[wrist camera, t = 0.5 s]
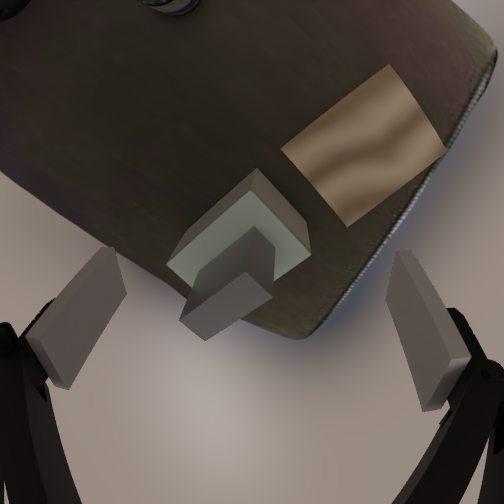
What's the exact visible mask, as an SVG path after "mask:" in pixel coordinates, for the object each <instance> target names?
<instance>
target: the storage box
mask: <svg viewBox="0 0 504 504" xmlns="http://www.w3.org/2000/svg"><path fill="white" fill-rule="evenodd" d="M251 187H252V188H253V189H254V190H255V191H256V192H257V193H258V194H259V195H260V196H261V197H262V199H263V200H264V201H265V202H266V203H267V204H268V205H269V206H270V207H271V208H272V209H273V210H274V211H275V212H276V213H277V214H278V216H279V217H280V218H281V219H282V220H283V221H284V222H285V223H286V224H287V225H288V226H289V227H290V228H291V229H292V231H293V232H294V233H295V234H296V235H297V236H298V237H299V238H300V239H301V240H302V241H303V243H304V244H305V245H306V246H307V247H308V248H309V249H310V242H309V236H308V229H307V222H306V221H305V220H304V219H303V217H302V216H301V215H300V214H299V213H298V212H297V211H296V210H295V209H294V207H293V206H292V205H291V204H290V203H289V202H288V201H287V200H286V199H285V198H284V196H283V195H282V194H281V193H280V192H279V191H278V190H277V189H276V188H275V187H274V186H273V185H272V183H271V182H270V181H269V180H268V179H267V178H266V177H265V176H264V175H263V174H262V173H261V172H260V171H259V170H258V168H256V169H255V170H254V171H253V172H252V173H250V174H249V175H248V176H247V177H246V178H245V179H243V180H242V181H241V182H240V183H239V184H238V185H237V186H235V187H234V188H233V189H232V190H231V191H230V192H229V193H228V194H226V195H225V196H224V197H223V198H222V199H221V200H220V201H219V202H217V203H216V204H215V205H214V206H213V207H212V208H211V209H210V210H209V211H207V212H206V213H205V214H204V215H203V216H202V217H201V218H200V219H199V220H198V221H196V222H195V223H194V224H193V225H192V226H191V227H190V228H189V229H188V230H187V231H186V232H185V233H184V235H183V236H182V238H181V240H180V242H179V243H178V245H177V247H176V248H175V250H174V252H173V253H172V255H171V257H173V256H174V255H175V254H176V253H177V252H178V251H179V250H180V249H181V248H182V247H184V246H185V245H186V244H187V243H188V242H189V241H190V240H191V239H192V238H194V237H195V236H196V235H197V234H198V233H199V232H200V231H201V230H202V229H204V228H205V227H206V226H207V225H208V224H209V223H210V222H212V221H213V220H214V219H215V218H216V217H217V216H218V215H219V214H221V213H222V212H223V211H224V210H225V209H226V208H227V207H229V206H230V205H231V204H232V203H233V202H234V201H236V200H237V199H238V198H239V197H240V196H241V195H243V194H244V193H245V192H246V191H247V190H248V189H250V188H251ZM310 250H311V249H310ZM171 257H170V258H171Z"/></svg>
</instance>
